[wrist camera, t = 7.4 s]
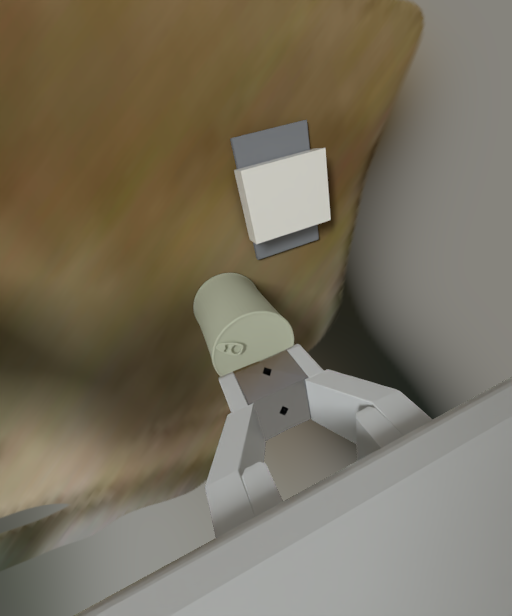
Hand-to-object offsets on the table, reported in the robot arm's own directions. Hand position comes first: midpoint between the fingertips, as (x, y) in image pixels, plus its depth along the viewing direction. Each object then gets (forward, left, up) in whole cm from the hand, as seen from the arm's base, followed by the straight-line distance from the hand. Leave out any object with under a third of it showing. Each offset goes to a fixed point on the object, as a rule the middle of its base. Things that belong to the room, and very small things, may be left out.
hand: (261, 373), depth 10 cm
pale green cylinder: (+3, -12, -28) cm, 31 cm away
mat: (+13, 0, -28) cm, 31 cm away
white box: (+8, 0, -26) cm, 27 cm away
